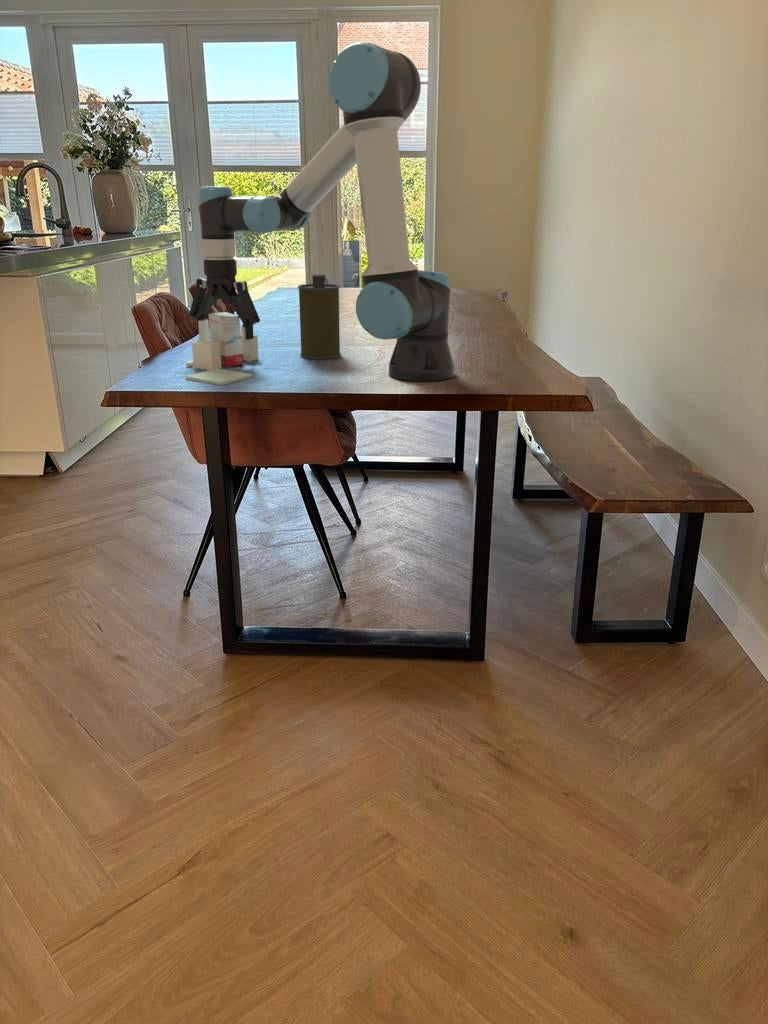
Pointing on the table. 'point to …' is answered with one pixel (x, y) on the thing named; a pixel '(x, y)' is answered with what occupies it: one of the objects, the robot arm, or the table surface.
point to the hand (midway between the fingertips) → (226, 350)
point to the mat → (219, 376)
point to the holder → (215, 354)
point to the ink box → (227, 337)
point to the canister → (319, 319)
